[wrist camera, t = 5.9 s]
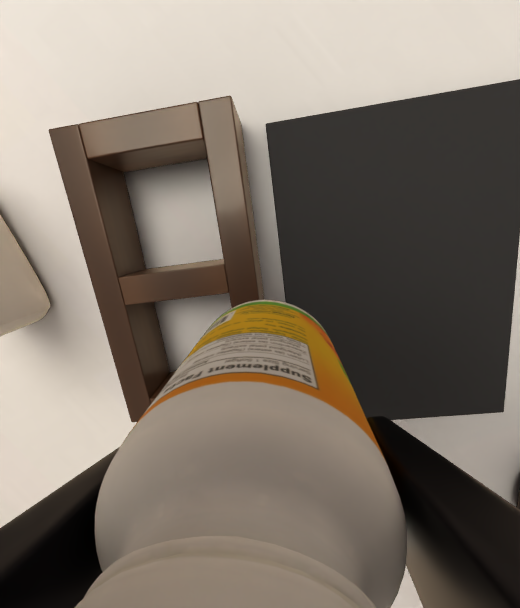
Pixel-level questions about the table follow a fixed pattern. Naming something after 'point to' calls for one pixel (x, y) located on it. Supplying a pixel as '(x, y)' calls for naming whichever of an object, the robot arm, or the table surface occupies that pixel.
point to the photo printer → (18, 286)
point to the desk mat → (407, 243)
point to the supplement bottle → (251, 481)
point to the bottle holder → (123, 234)
